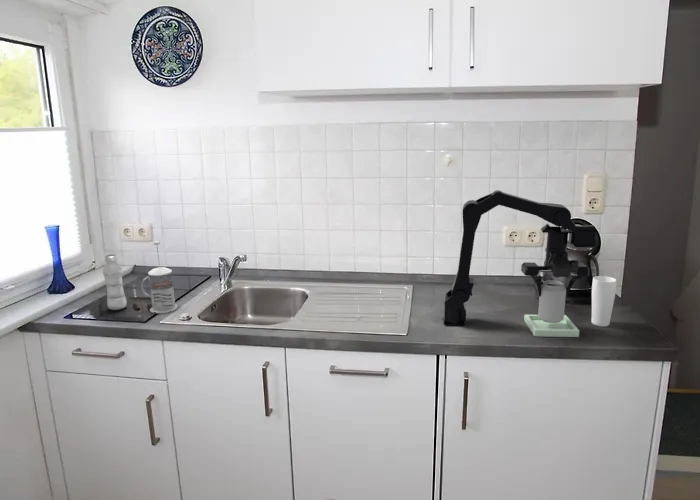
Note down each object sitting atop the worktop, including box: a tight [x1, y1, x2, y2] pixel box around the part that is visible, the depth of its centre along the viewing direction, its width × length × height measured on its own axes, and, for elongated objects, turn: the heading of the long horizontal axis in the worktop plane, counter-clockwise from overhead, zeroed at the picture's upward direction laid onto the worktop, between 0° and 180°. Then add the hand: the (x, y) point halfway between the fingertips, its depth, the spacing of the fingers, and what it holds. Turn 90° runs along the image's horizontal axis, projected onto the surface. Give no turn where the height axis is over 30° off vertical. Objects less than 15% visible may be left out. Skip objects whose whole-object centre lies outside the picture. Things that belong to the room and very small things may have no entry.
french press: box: [140, 240, 179, 314], centre depth 184 cm, size 10×12×25 cm
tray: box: [523, 314, 580, 338], centre depth 162 cm, size 13×13×2 cm
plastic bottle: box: [102, 253, 127, 311], centre depth 185 cm, size 6×7×20 cm
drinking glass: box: [590, 275, 617, 328], centre depth 163 cm, size 7×7×15 cm
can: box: [537, 280, 567, 323], centre depth 160 cm, size 8×8×12 cm
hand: (552, 296), depth 160 cm, fingers closed on can, 7 cm apart
